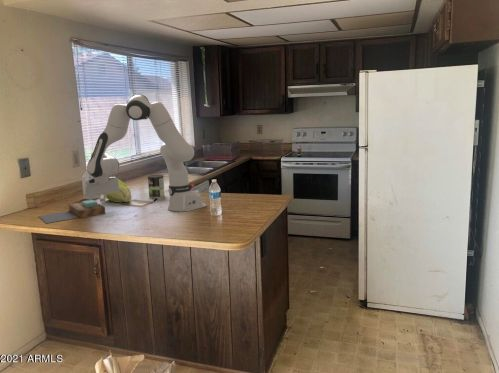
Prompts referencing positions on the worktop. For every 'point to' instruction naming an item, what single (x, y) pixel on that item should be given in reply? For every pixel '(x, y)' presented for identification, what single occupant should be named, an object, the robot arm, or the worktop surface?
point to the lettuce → (120, 193)
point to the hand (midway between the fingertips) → (102, 201)
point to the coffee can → (156, 186)
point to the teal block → (89, 203)
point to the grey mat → (57, 217)
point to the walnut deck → (86, 210)
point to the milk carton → (84, 183)
